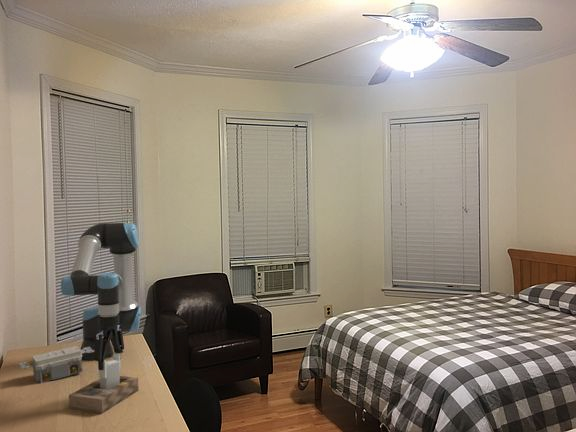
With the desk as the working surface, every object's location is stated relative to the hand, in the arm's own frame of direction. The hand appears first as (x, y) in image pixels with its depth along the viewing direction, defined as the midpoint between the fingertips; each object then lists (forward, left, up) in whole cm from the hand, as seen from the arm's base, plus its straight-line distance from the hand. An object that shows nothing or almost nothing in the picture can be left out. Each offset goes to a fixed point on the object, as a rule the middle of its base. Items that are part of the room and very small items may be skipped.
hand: (110, 373), depth 193 cm
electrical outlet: (-13, -35, -9) cm, 39 cm away
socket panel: (+3, 0, -9) cm, 9 cm away
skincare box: (0, 0, -8) cm, 8 cm away
